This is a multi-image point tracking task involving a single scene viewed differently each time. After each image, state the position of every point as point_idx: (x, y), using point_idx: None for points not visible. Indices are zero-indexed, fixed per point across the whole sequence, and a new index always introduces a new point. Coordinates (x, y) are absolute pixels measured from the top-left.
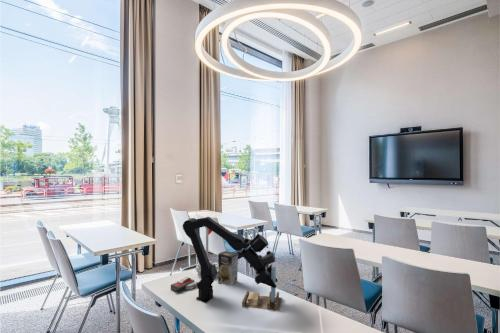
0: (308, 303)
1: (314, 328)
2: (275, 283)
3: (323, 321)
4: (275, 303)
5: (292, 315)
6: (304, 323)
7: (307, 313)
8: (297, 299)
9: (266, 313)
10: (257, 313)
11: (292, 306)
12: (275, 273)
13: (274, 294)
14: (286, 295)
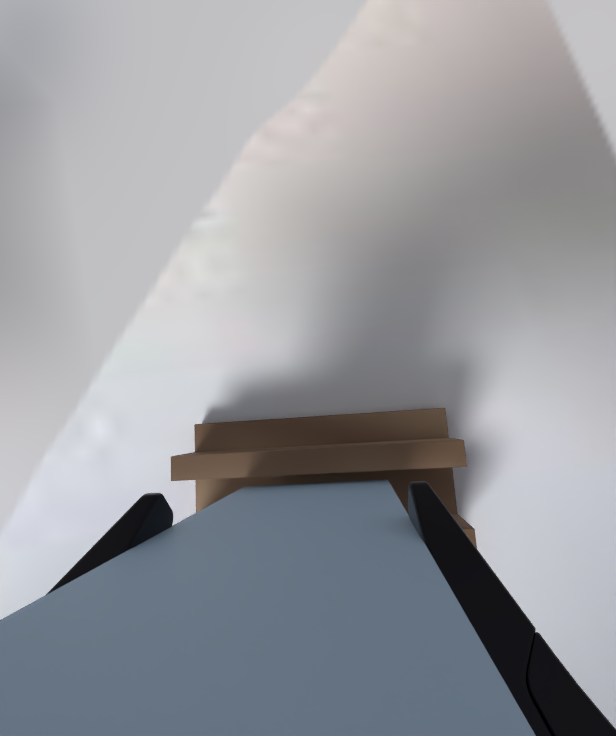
0: (222, 196)
1: (598, 115)
2: (203, 521)
3: (471, 67)
4: (443, 459)
5: (457, 296)
6: (552, 191)
7: (387, 186)
8: (173, 289)
9: (499, 532)
10: None
11: (305, 315)
12: (106, 608)
13: (379, 494)
14: (119, 391)
